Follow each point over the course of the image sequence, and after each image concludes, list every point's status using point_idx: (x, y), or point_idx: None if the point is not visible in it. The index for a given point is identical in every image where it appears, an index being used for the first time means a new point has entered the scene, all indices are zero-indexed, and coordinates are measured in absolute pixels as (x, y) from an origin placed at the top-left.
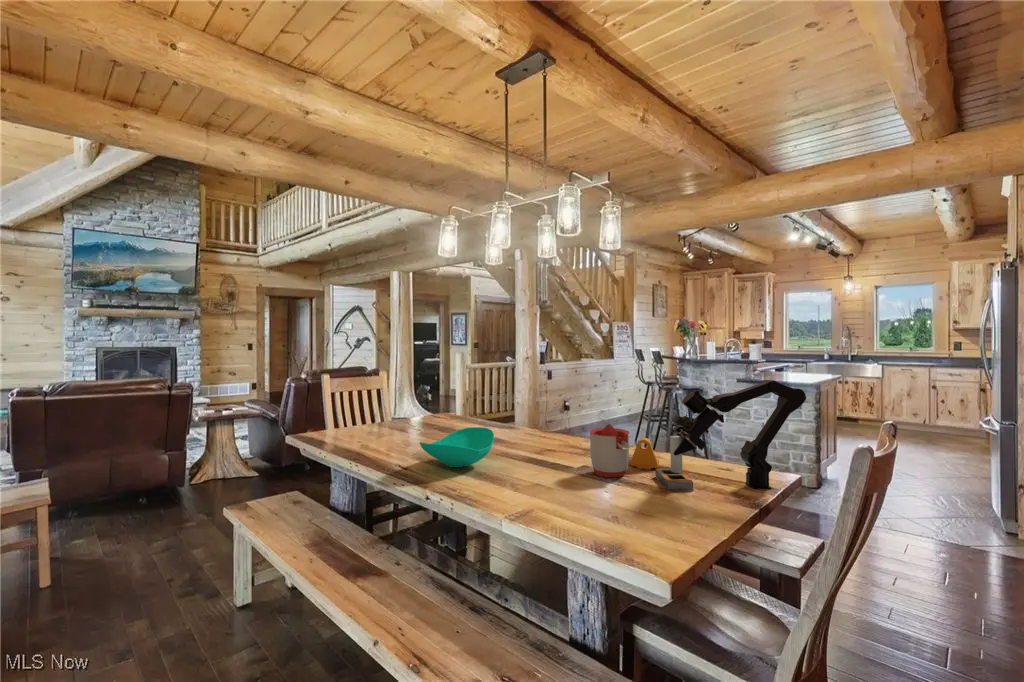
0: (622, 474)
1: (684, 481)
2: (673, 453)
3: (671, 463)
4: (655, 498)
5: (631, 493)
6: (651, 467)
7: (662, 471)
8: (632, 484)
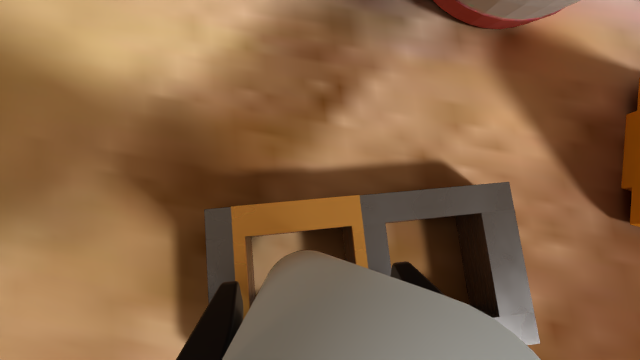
0: (442, 4)
1: None
2: (224, 282)
3: (293, 256)
4: (69, 120)
5: (154, 15)
6: (632, 189)
7: (478, 223)
8: (312, 44)
